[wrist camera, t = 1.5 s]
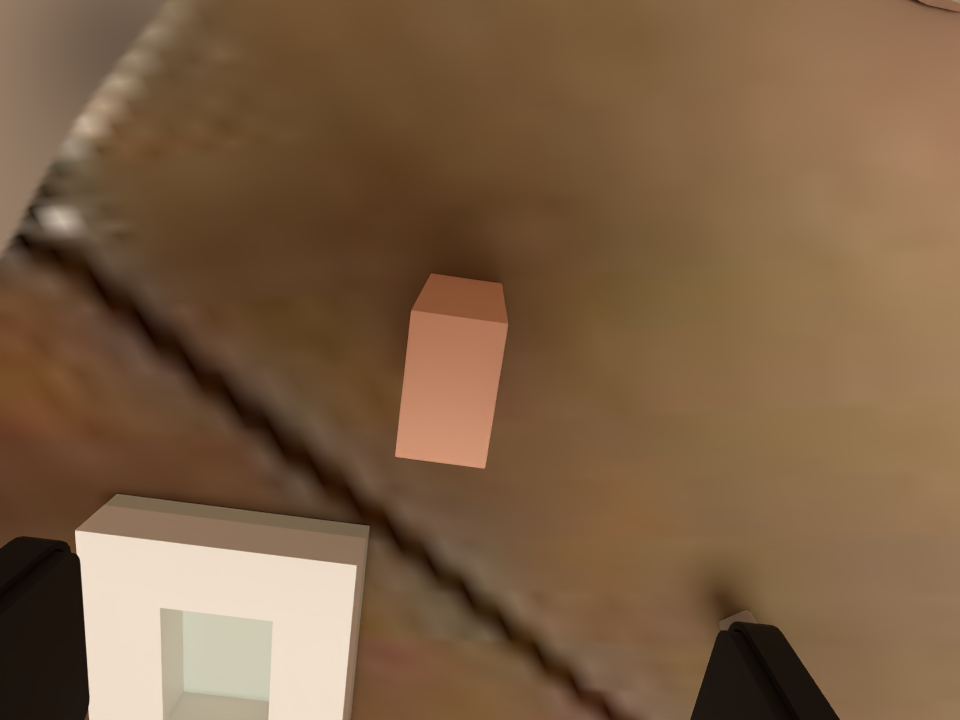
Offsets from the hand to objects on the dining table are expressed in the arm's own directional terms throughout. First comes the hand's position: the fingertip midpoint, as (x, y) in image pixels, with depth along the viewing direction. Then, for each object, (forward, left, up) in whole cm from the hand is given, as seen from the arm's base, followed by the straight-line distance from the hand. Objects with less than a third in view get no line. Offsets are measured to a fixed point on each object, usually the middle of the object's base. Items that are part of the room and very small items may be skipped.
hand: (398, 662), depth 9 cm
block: (0, 0, -18) cm, 18 cm away
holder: (+17, -9, -18) cm, 26 cm away
